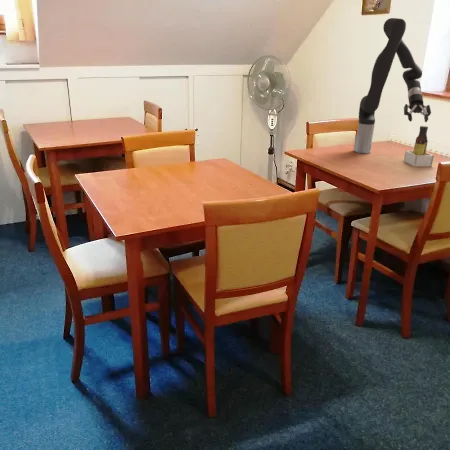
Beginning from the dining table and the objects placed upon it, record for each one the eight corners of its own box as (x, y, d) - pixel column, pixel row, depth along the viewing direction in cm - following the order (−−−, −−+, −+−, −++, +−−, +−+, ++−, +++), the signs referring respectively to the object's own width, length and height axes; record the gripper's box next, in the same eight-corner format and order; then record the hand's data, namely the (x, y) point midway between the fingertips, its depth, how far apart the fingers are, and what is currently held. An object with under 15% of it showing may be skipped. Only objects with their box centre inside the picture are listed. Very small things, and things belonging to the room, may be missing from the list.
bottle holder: (414, 166, 251) (416, 155, 249) (403, 161, 261) (405, 150, 259) (431, 166, 252) (433, 155, 250) (420, 160, 263) (422, 150, 260)
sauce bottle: (424, 164, 253) (431, 128, 245) (412, 163, 254) (419, 127, 247) (422, 161, 259) (429, 125, 251) (410, 160, 260) (417, 125, 252)
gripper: (405, 92, 260) (408, 116, 254) (430, 93, 260) (434, 117, 254) (400, 101, 267) (403, 124, 261) (425, 101, 267) (428, 125, 260)
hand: (418, 121), depth 257 cm, fingers open, 8 cm apart
